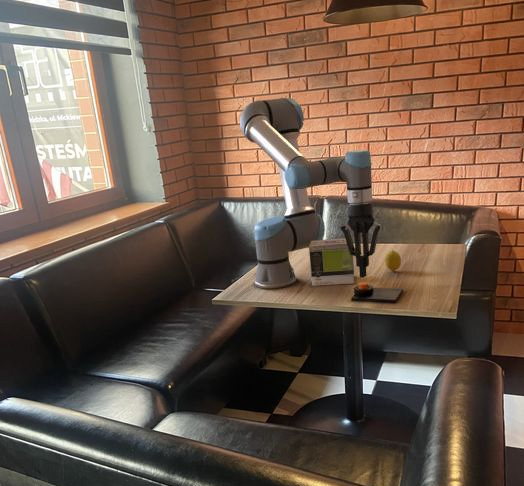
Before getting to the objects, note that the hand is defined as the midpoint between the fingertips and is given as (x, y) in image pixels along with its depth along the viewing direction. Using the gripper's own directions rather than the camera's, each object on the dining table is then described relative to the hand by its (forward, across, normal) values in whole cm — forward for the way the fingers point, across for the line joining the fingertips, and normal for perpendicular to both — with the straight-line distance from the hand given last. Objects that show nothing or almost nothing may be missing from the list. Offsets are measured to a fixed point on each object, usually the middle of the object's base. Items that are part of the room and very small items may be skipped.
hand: (363, 276), depth 173 cm
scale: (+7, +4, 0) cm, 8 cm away
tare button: (+4, 0, 0) cm, 4 cm away
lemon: (+7, +3, +28) cm, 29 cm away
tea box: (+7, -15, +14) cm, 22 cm away
